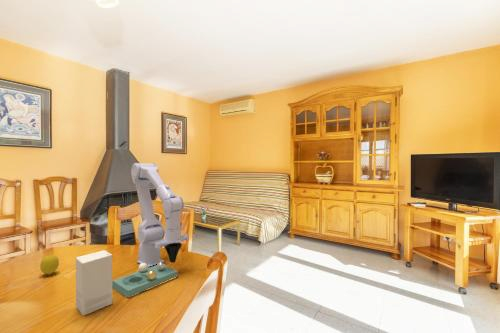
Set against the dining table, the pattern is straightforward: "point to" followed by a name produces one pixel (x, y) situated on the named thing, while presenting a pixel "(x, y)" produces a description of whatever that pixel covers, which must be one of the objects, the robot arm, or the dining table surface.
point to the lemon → (49, 264)
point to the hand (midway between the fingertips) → (172, 261)
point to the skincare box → (93, 281)
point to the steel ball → (161, 266)
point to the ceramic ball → (143, 267)
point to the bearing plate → (142, 280)
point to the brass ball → (151, 275)
